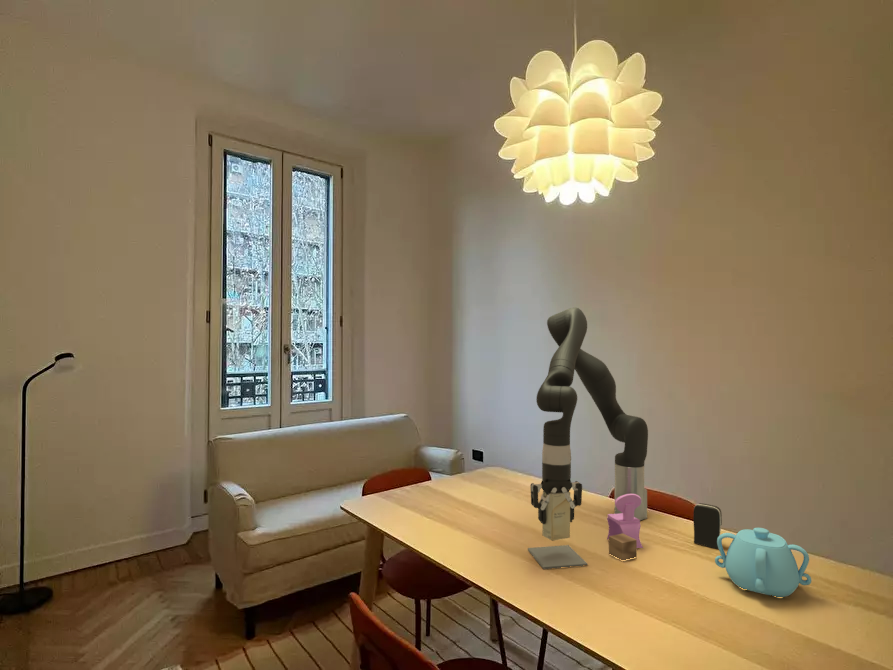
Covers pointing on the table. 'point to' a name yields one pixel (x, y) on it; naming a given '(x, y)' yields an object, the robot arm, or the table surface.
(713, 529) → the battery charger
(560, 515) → the skincare box
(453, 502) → the table surface
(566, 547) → the coaster
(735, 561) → the decorative pot
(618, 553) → the walnut block
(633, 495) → the toy chair
